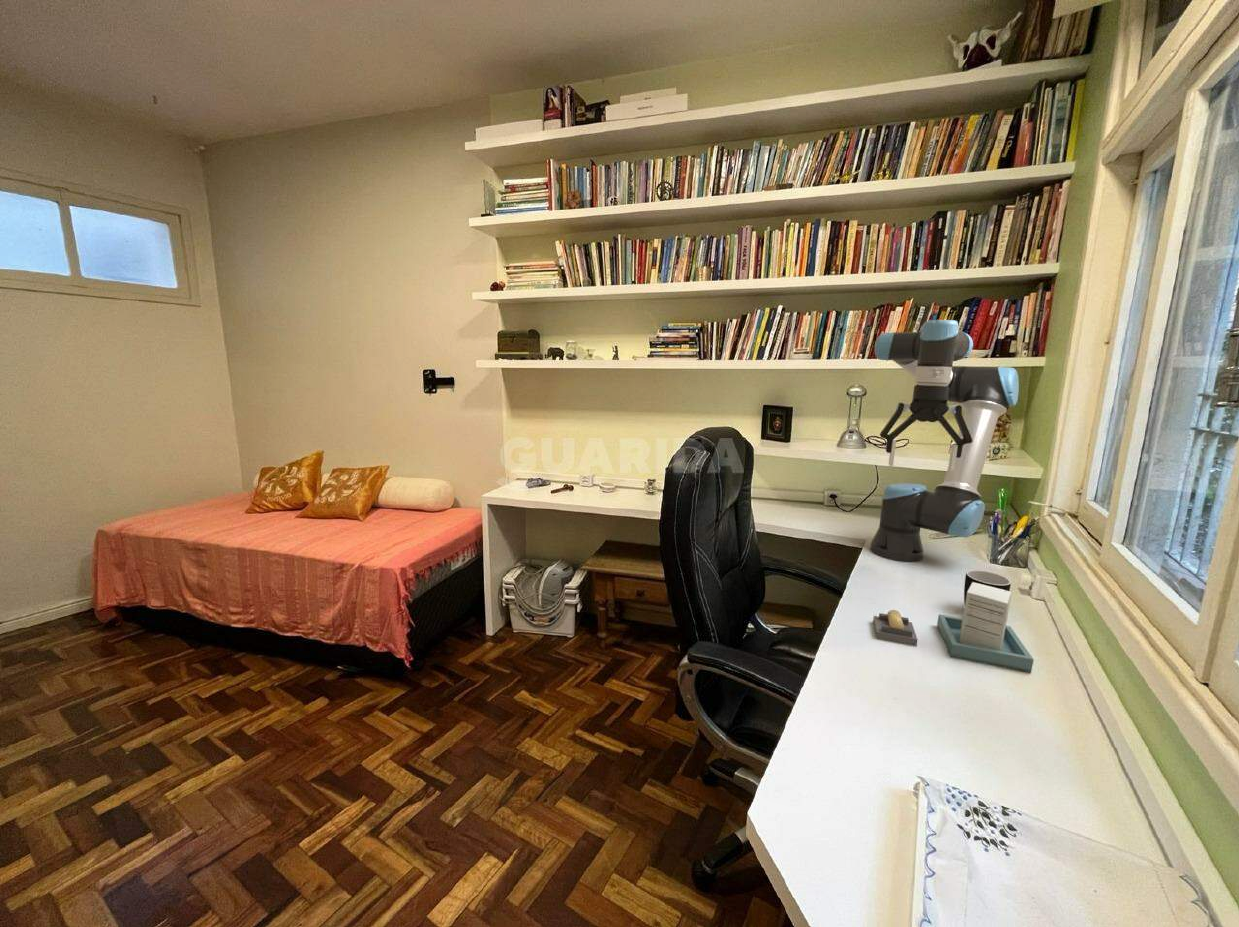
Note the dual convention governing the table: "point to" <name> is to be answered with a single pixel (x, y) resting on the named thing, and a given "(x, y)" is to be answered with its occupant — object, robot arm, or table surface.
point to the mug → (985, 580)
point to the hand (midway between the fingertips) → (920, 467)
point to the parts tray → (1008, 657)
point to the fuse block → (894, 628)
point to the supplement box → (985, 616)
